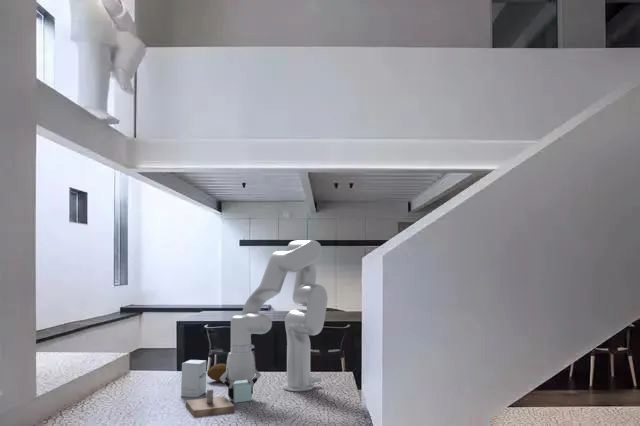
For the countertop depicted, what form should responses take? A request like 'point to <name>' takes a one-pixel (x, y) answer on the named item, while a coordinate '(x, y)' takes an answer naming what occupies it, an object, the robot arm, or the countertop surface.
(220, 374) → the potato
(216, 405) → the wooden peg base
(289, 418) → the countertop surface
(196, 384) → the supplement box
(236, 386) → the pale blue cube
